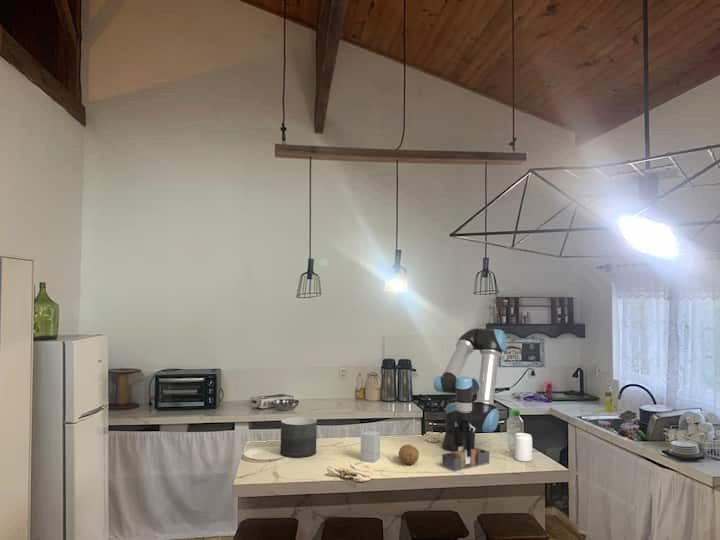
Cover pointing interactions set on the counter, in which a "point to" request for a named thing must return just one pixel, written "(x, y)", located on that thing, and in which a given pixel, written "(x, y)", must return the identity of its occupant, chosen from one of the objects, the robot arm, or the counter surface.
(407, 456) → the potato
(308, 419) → the planter
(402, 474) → the counter surface
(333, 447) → the counter surface
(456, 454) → the slat
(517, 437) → the beverage can
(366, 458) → the supplement box
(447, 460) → the grey notched block
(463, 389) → the robot arm
